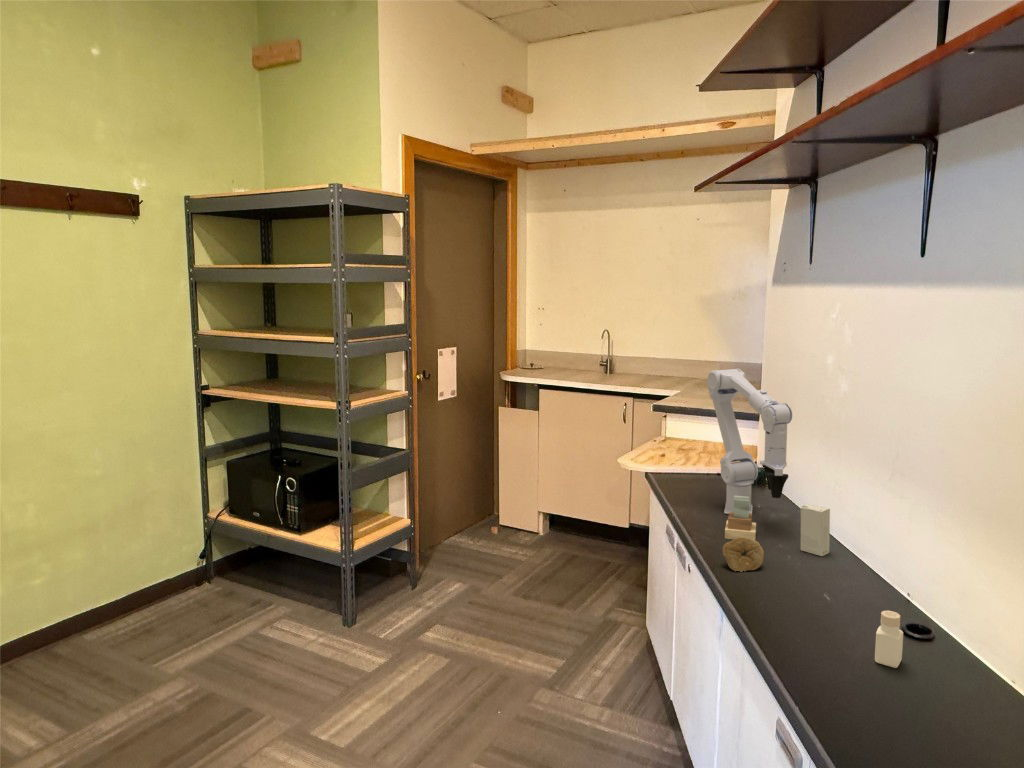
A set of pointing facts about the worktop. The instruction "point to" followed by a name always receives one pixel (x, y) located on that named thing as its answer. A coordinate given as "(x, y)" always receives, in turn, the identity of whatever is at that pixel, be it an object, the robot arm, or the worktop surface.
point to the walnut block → (739, 522)
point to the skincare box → (815, 529)
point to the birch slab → (740, 532)
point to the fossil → (743, 554)
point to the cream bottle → (889, 640)
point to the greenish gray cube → (741, 507)
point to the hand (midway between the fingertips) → (774, 493)
